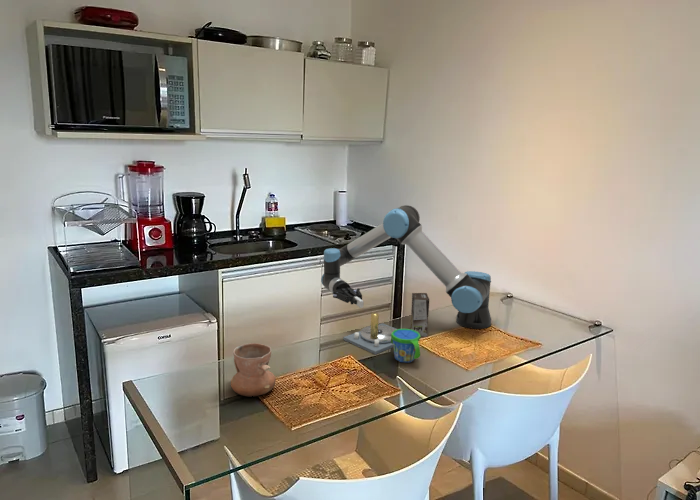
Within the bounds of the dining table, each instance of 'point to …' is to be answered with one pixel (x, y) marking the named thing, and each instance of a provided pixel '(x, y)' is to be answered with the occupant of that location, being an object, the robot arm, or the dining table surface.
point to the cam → (376, 331)
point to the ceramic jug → (252, 370)
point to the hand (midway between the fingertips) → (361, 304)
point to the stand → (366, 345)
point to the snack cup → (405, 344)
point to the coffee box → (420, 313)
